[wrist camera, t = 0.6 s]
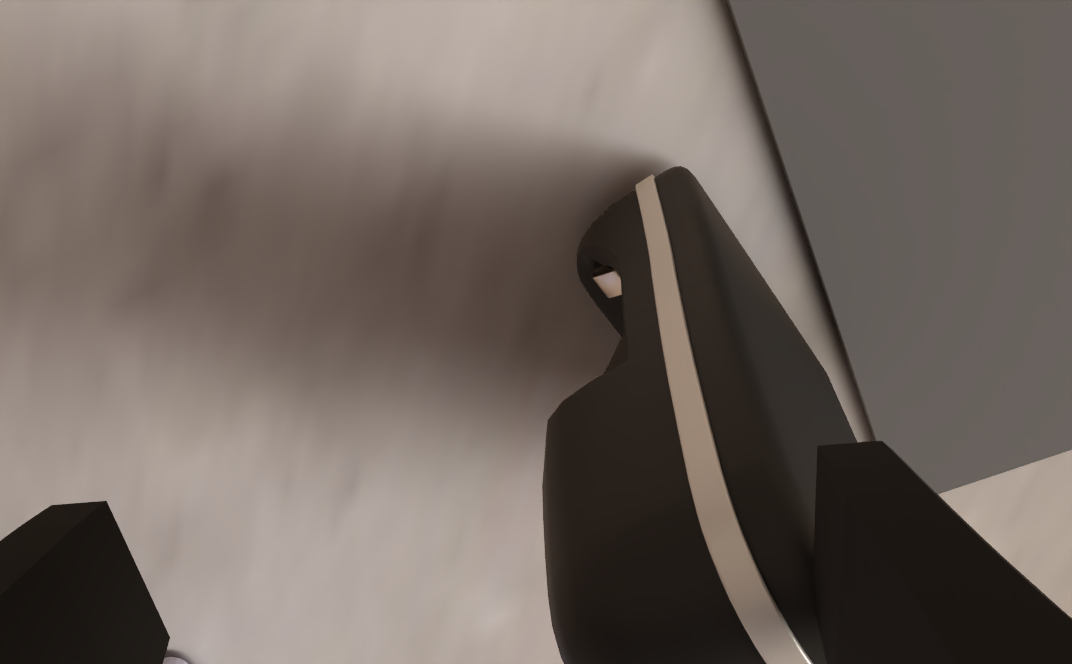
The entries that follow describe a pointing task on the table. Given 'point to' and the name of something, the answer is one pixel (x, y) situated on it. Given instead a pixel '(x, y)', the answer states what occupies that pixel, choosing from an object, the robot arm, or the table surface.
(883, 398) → the mat
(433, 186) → the table surface
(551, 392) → the table surface
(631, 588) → the battery charger
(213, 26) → the table surface
